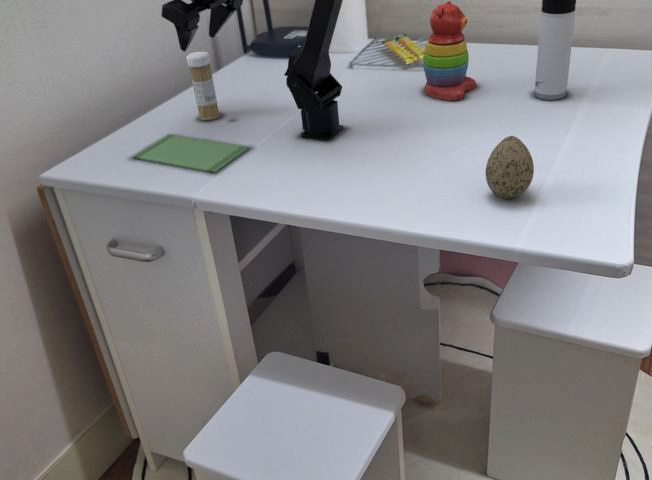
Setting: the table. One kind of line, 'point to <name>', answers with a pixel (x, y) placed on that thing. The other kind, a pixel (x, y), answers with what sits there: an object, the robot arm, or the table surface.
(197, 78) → the sprinkles bottle
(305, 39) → the robot arm
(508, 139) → the decorative egg
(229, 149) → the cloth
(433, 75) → the stacking bear
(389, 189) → the table surface
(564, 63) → the travel mug
